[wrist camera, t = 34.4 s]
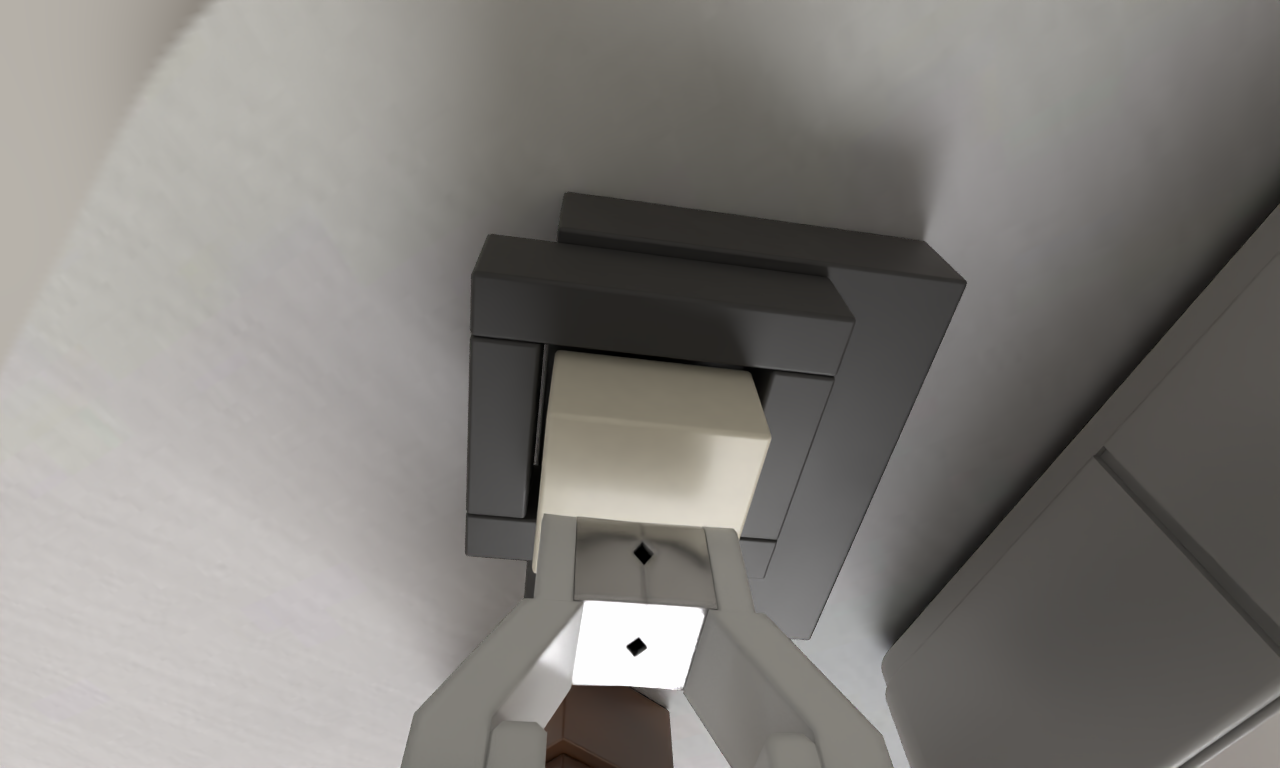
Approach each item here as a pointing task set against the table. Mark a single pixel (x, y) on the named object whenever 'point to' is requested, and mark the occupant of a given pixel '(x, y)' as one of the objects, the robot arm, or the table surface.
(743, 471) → the cream rectangular block
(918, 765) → the projector
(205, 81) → the table surface
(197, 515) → the table surface
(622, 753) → the brown stepped pedestal
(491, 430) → the black stepped base
